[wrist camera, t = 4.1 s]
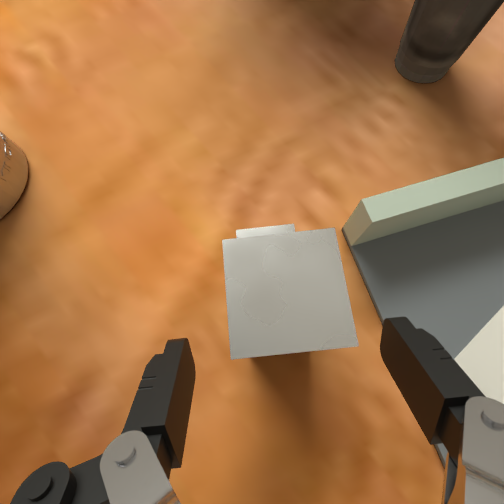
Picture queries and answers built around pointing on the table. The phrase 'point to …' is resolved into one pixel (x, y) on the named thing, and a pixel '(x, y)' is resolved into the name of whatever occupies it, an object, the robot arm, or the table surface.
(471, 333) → the mat
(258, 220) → the table surface
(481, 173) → the corner walls
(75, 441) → the table surface
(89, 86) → the table surface
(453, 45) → the beverage cup
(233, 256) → the bracket
